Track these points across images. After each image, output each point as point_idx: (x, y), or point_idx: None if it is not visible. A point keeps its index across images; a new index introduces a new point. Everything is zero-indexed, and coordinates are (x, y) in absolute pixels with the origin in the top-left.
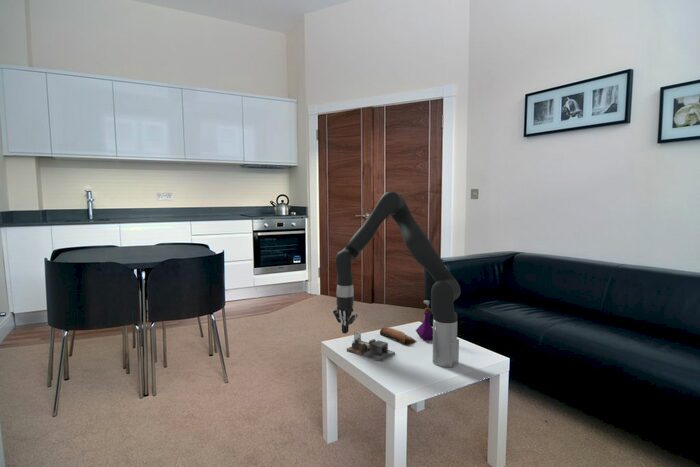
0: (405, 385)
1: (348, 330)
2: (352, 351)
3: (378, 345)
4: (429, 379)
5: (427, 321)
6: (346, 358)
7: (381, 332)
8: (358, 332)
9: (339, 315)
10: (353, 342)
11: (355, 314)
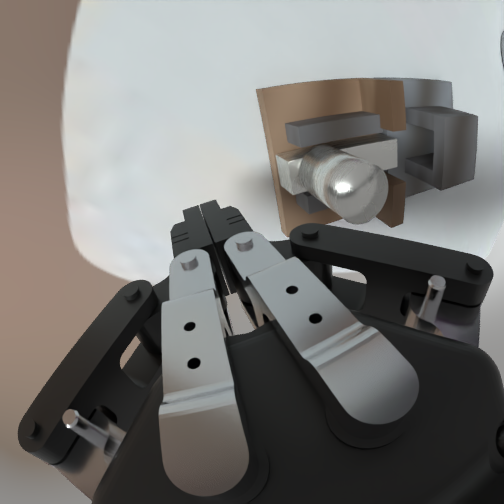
0: (495, 227)
1: (238, 210)
2: (325, 221)
3: (466, 175)
4: None
5: None
6: (342, 272)
7: None
8: (366, 183)
9: (115, 383)
10: (299, 190)
11: (481, 303)
